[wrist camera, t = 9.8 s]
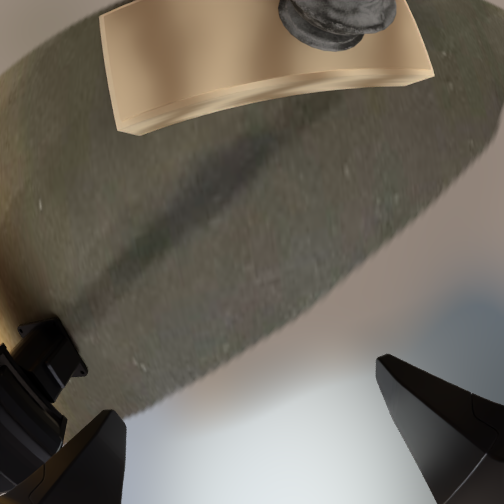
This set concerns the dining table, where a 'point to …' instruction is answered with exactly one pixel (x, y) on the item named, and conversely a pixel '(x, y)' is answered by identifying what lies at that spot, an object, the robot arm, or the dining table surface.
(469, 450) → the robot arm
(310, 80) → the tan wooden block
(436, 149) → the dining table surface
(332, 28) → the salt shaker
